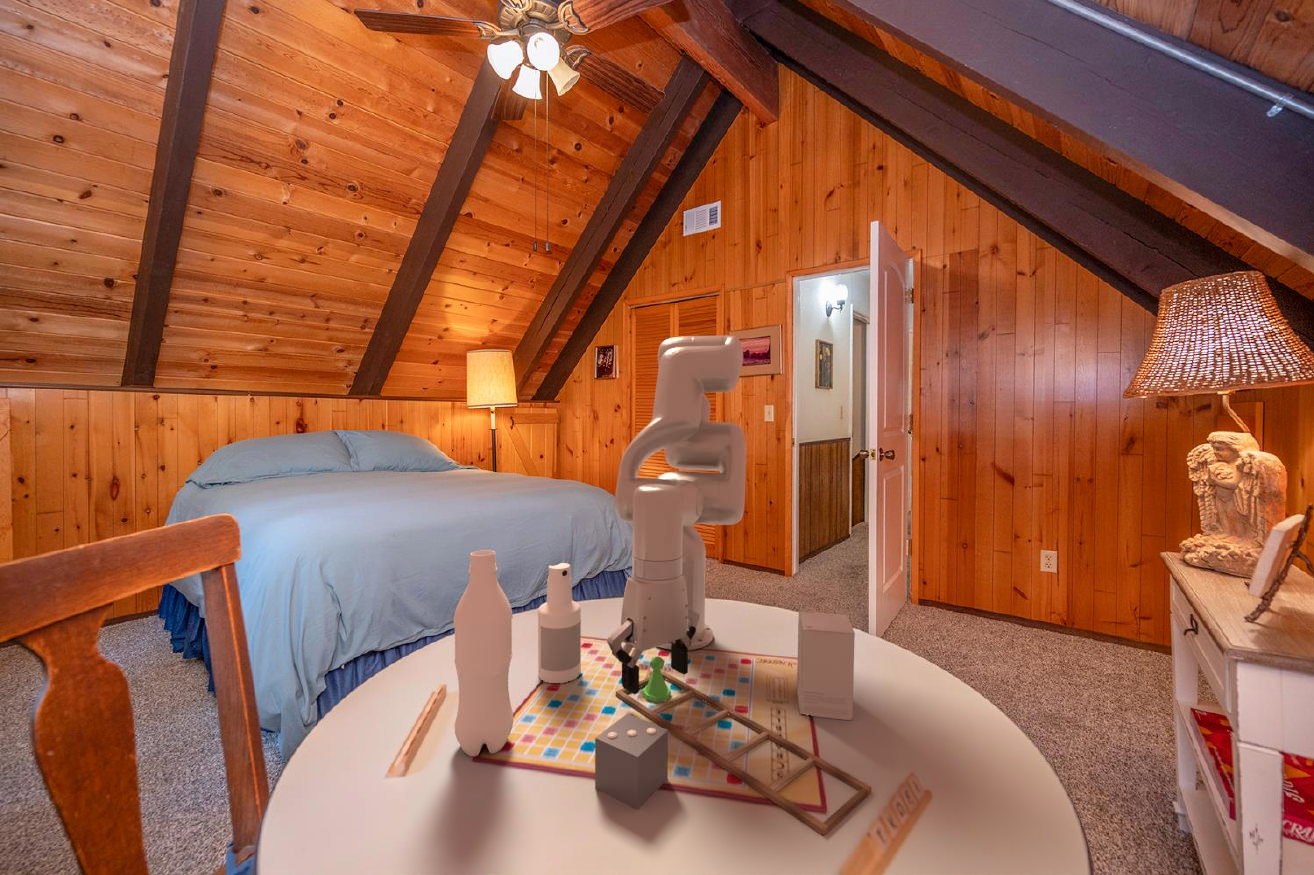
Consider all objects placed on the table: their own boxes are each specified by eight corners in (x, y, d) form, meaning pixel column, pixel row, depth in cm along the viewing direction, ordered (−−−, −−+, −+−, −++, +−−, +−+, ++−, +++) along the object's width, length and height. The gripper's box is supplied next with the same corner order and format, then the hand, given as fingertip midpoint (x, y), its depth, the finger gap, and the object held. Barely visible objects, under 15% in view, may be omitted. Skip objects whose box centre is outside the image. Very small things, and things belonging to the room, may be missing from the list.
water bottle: (524, 734, 72) (523, 548, 71) (491, 767, 65) (489, 563, 64) (479, 723, 75) (477, 543, 73) (442, 754, 68) (439, 557, 67)
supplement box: (853, 722, 76) (856, 633, 75) (798, 715, 77) (800, 628, 77) (846, 694, 83) (848, 613, 82) (796, 689, 84) (797, 609, 84)
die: (595, 788, 62) (595, 736, 62) (626, 760, 67) (627, 712, 67) (637, 810, 59) (637, 755, 58) (667, 779, 64) (667, 728, 63)
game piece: (643, 687, 85) (643, 649, 84) (670, 687, 85) (671, 650, 84) (641, 702, 80) (641, 662, 80) (670, 702, 80) (670, 663, 80)
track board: (615, 695, 82) (615, 691, 82) (664, 675, 89) (664, 671, 89) (823, 835, 55) (823, 830, 55) (871, 792, 62) (871, 786, 62)
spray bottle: (551, 689, 84) (551, 574, 83) (530, 673, 89) (530, 564, 88) (588, 675, 88) (588, 566, 87) (566, 660, 93) (566, 557, 93)
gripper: (681, 554, 90) (680, 656, 90) (595, 571, 78) (593, 688, 79) (715, 563, 84) (713, 672, 85) (626, 583, 73) (625, 709, 73)
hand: (655, 680), depth 82 cm, fingers open, 9 cm apart
